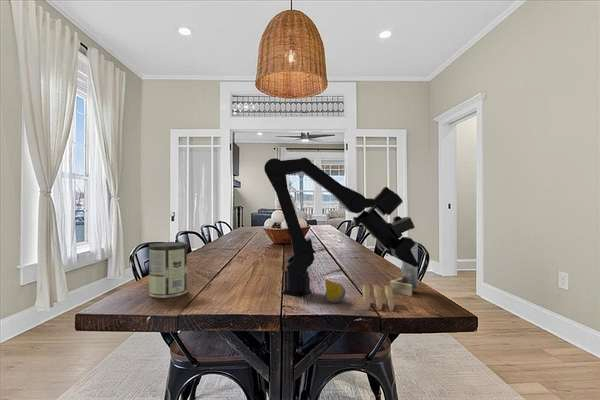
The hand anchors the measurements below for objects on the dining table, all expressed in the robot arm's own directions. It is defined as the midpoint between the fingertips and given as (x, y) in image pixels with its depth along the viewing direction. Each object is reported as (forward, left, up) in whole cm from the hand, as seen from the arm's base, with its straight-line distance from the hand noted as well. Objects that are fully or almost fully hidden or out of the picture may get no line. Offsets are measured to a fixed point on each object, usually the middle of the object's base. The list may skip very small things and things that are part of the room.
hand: (414, 264), depth 106 cm
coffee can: (-58, -41, -8) cm, 72 cm away
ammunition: (-4, -19, -8) cm, 21 cm away
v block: (-4, -3, -8) cm, 9 cm away
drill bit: (-14, -23, -8) cm, 28 cm away
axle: (-1, -1, -7) cm, 7 cm away
